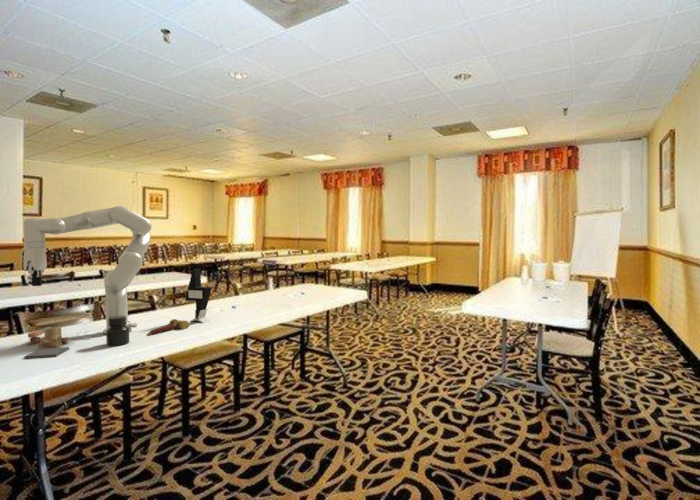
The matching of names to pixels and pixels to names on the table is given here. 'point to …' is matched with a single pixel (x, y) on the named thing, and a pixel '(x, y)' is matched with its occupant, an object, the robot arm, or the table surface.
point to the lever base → (36, 341)
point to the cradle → (52, 344)
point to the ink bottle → (117, 331)
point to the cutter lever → (37, 332)
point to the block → (53, 335)
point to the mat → (46, 352)
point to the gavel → (170, 326)
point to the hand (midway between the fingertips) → (37, 285)
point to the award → (198, 296)
